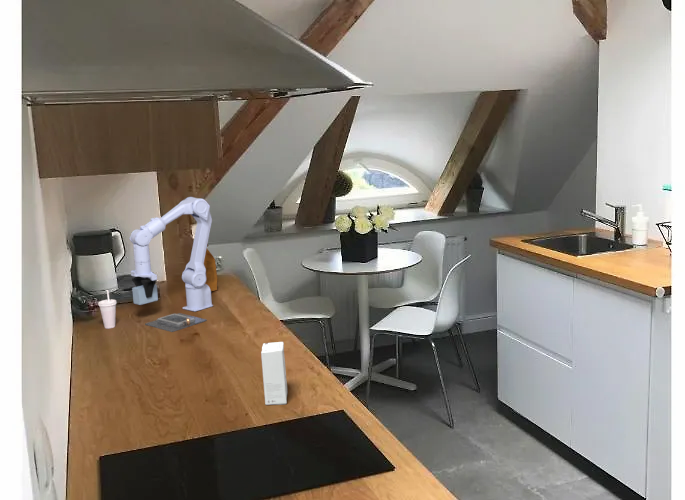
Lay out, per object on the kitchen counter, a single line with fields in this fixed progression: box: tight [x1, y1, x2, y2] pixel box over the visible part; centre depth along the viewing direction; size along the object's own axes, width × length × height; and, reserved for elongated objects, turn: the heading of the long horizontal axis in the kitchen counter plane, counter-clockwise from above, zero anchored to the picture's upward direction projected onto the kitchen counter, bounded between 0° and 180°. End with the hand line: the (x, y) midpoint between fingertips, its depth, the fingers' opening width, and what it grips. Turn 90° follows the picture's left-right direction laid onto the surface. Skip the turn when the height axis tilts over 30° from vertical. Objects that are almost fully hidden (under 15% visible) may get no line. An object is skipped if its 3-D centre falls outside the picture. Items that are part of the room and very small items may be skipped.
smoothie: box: [97, 289, 117, 329], centre depth 255 cm, size 6×6×14 cm
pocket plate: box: [145, 312, 208, 333], centre depth 258 cm, size 16×16×3 cm
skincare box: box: [260, 341, 288, 406], centre depth 185 cm, size 8×6×15 cm
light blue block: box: [131, 284, 159, 306], centre depth 263 cm, size 8×4×6 cm, turn 139°
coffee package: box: [204, 243, 218, 292], centre depth 302 cm, size 10×12×22 cm
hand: (145, 296), depth 263 cm, fingers closed on light blue block, 4 cm apart
